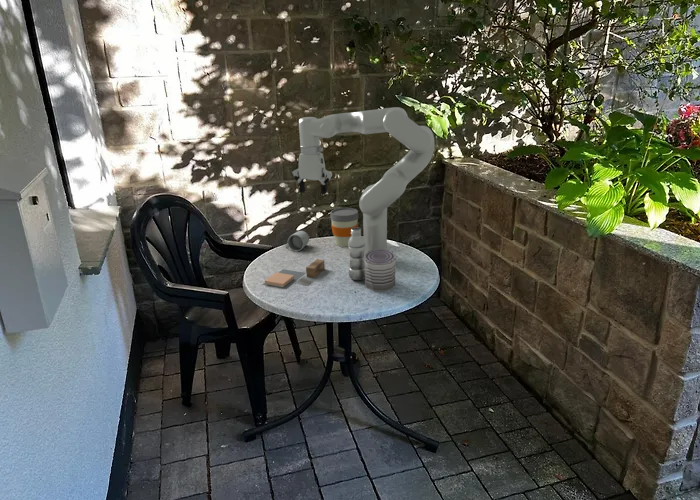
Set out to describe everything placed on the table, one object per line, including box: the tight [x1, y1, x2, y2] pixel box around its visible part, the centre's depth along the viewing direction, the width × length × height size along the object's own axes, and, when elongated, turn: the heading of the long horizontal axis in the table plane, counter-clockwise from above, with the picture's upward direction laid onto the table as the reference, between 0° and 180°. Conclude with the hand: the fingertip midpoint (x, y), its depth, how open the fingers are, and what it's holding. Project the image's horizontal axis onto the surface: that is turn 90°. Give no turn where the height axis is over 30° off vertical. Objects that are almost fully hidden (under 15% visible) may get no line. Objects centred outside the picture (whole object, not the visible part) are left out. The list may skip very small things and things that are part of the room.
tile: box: [264, 272, 294, 288], centre depth 185 cm, size 8×2×8 cm
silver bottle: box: [347, 227, 365, 281], centre depth 183 cm, size 6×7×20 cm
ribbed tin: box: [364, 249, 397, 293], centre depth 179 cm, size 11×11×12 cm
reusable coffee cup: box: [329, 207, 359, 248], centre depth 220 cm, size 13×13×15 cm
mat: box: [261, 268, 306, 290], centre depth 188 cm, size 10×15×1 cm
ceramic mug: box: [284, 230, 310, 252], centre depth 218 cm, size 11×8×8 cm
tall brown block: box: [293, 258, 326, 287], centre depth 188 cm, size 16×6×4 cm, turn 156°
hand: (313, 193), depth 197 cm, fingers open, 9 cm apart
